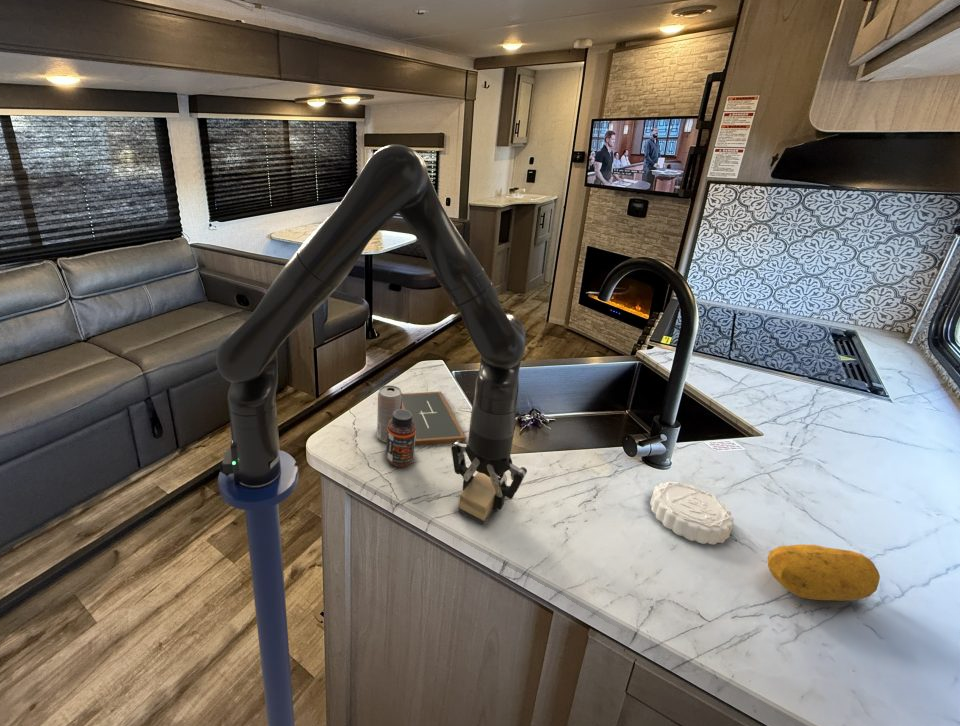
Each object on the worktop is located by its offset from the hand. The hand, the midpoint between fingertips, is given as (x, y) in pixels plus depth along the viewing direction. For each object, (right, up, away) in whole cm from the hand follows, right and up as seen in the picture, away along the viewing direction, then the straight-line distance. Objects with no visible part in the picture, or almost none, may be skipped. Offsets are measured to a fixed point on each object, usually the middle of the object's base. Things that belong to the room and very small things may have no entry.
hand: (482, 500), depth 87 cm
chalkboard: (-6, +9, +26) cm, 28 cm away
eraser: (0, 0, 0) cm, 0 cm away
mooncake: (+37, -2, -3) cm, 37 cm away
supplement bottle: (-15, +4, +12) cm, 19 cm away
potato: (+46, -7, -16) cm, 50 cm away
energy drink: (-17, +7, +19) cm, 26 cm away
